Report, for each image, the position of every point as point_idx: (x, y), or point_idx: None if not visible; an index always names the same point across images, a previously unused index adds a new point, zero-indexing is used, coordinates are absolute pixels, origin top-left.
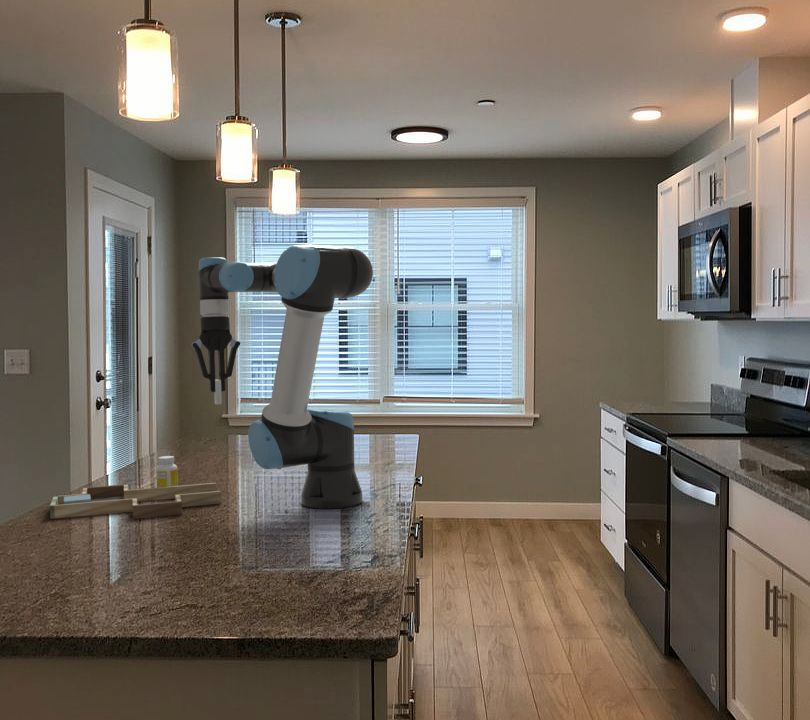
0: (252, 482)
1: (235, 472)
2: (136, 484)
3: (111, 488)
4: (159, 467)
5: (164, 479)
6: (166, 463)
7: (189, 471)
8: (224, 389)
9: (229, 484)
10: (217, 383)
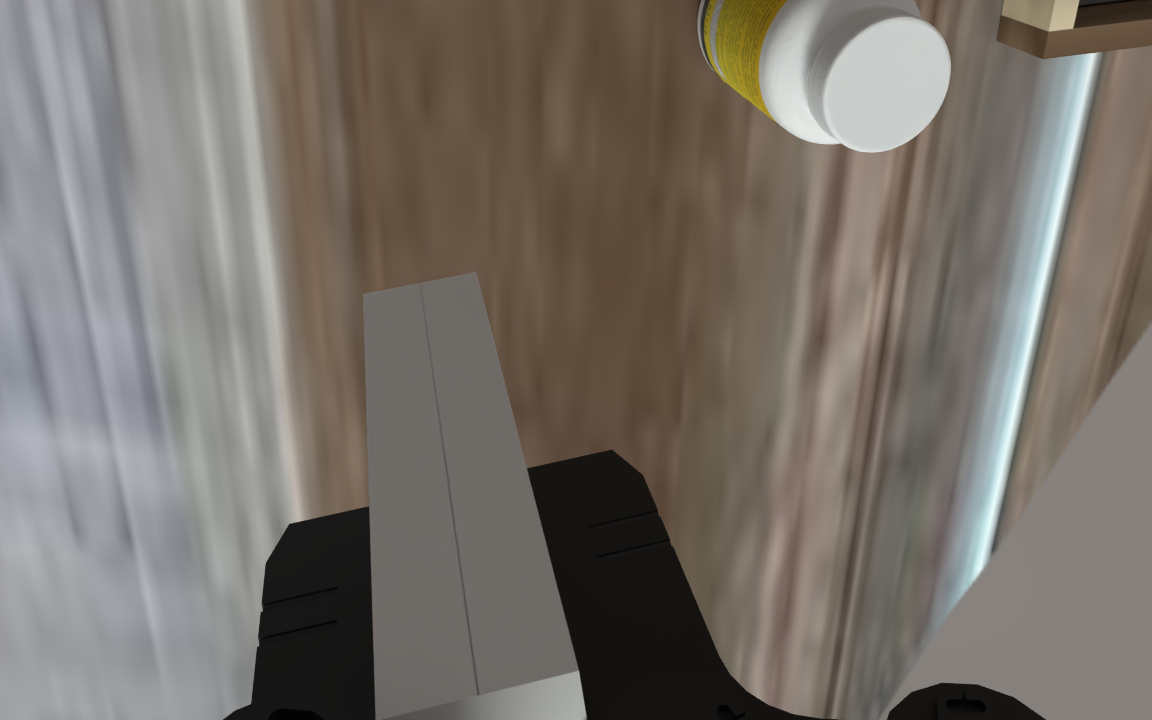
0: (167, 235)
1: None
2: (898, 354)
3: (1135, 15)
4: (915, 9)
5: None
6: (877, 7)
7: None
8: (288, 553)
9: (339, 209)
10: (491, 592)
